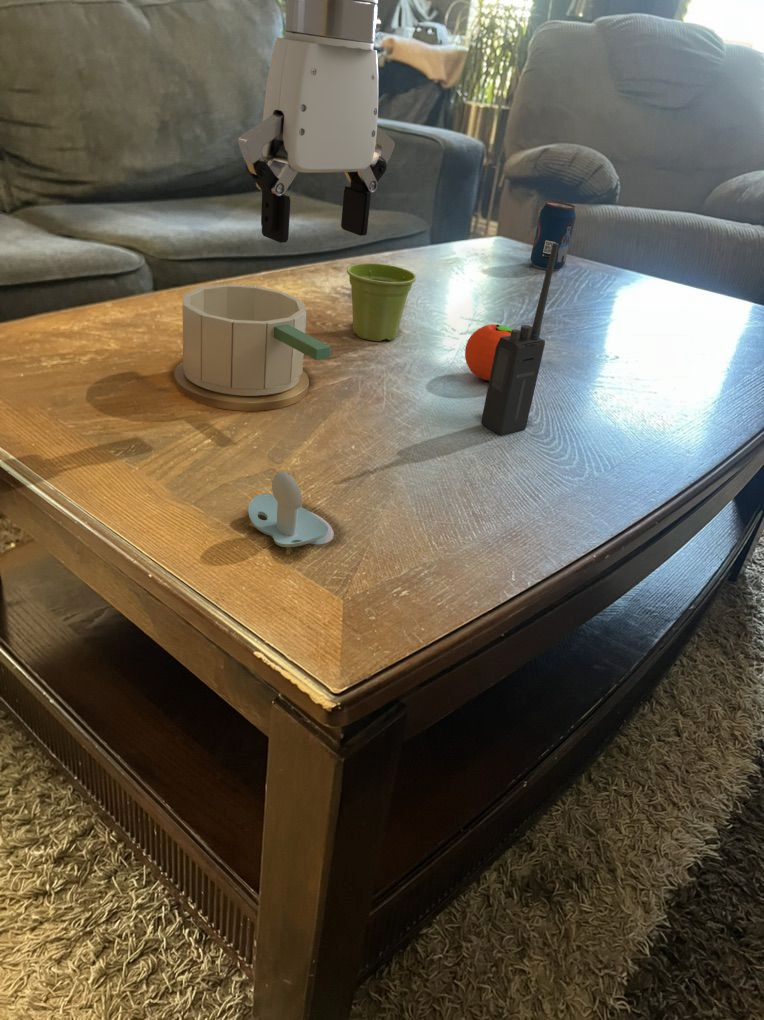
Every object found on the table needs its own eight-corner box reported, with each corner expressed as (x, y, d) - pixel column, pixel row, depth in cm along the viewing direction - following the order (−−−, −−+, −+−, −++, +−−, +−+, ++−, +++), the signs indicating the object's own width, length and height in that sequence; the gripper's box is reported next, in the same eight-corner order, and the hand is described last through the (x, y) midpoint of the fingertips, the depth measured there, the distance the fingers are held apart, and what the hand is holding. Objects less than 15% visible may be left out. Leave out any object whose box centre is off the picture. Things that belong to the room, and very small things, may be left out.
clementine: (518, 372, 102) (529, 320, 99) (526, 393, 96) (539, 338, 93) (458, 365, 102) (467, 312, 98) (462, 386, 96) (473, 330, 92)
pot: (266, 431, 76) (269, 353, 72) (161, 362, 87) (159, 291, 83) (364, 405, 84) (373, 334, 80) (256, 345, 96) (259, 280, 91)
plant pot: (332, 338, 105) (338, 273, 100) (351, 319, 113) (357, 258, 108) (399, 351, 104) (408, 286, 99) (413, 331, 112) (422, 270, 107)
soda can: (531, 260, 160) (545, 198, 154) (565, 266, 159) (580, 205, 152) (526, 266, 154) (540, 203, 148) (561, 273, 153) (576, 210, 147)
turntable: (222, 422, 79) (223, 413, 79) (149, 371, 88) (148, 362, 88) (335, 394, 89) (335, 386, 88) (258, 351, 97) (258, 343, 97)
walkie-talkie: (506, 416, 89) (546, 238, 79) (527, 428, 87) (571, 246, 77) (476, 423, 87) (514, 239, 76) (497, 436, 85) (539, 248, 74)
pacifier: (294, 507, 67) (237, 526, 63) (301, 442, 64) (242, 458, 60) (351, 546, 63) (294, 570, 59) (361, 479, 60) (302, 499, 56)
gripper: (374, 31, 73) (356, 221, 81) (217, 9, 62) (215, 231, 71) (432, 39, 68) (406, 239, 77) (274, 16, 57) (265, 253, 66)
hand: (315, 235), depth 74 cm, fingers open, 9 cm apart
